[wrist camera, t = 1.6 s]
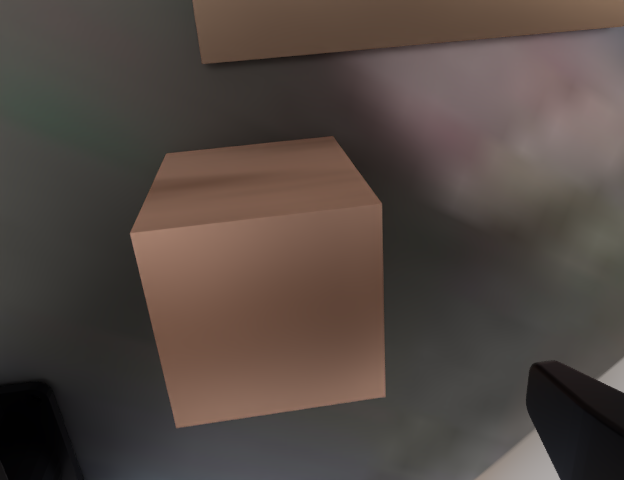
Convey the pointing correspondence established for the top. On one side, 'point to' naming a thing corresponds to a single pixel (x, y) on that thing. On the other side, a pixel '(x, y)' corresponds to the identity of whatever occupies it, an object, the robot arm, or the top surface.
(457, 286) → the top surface
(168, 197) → the top block
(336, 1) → the tan square base
